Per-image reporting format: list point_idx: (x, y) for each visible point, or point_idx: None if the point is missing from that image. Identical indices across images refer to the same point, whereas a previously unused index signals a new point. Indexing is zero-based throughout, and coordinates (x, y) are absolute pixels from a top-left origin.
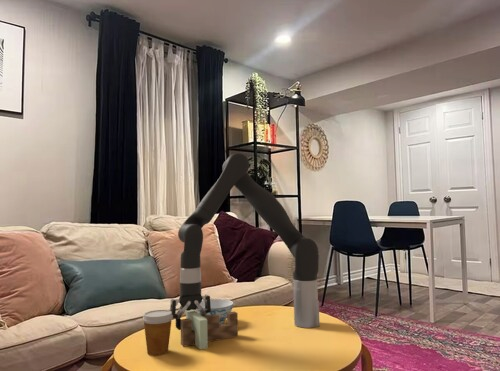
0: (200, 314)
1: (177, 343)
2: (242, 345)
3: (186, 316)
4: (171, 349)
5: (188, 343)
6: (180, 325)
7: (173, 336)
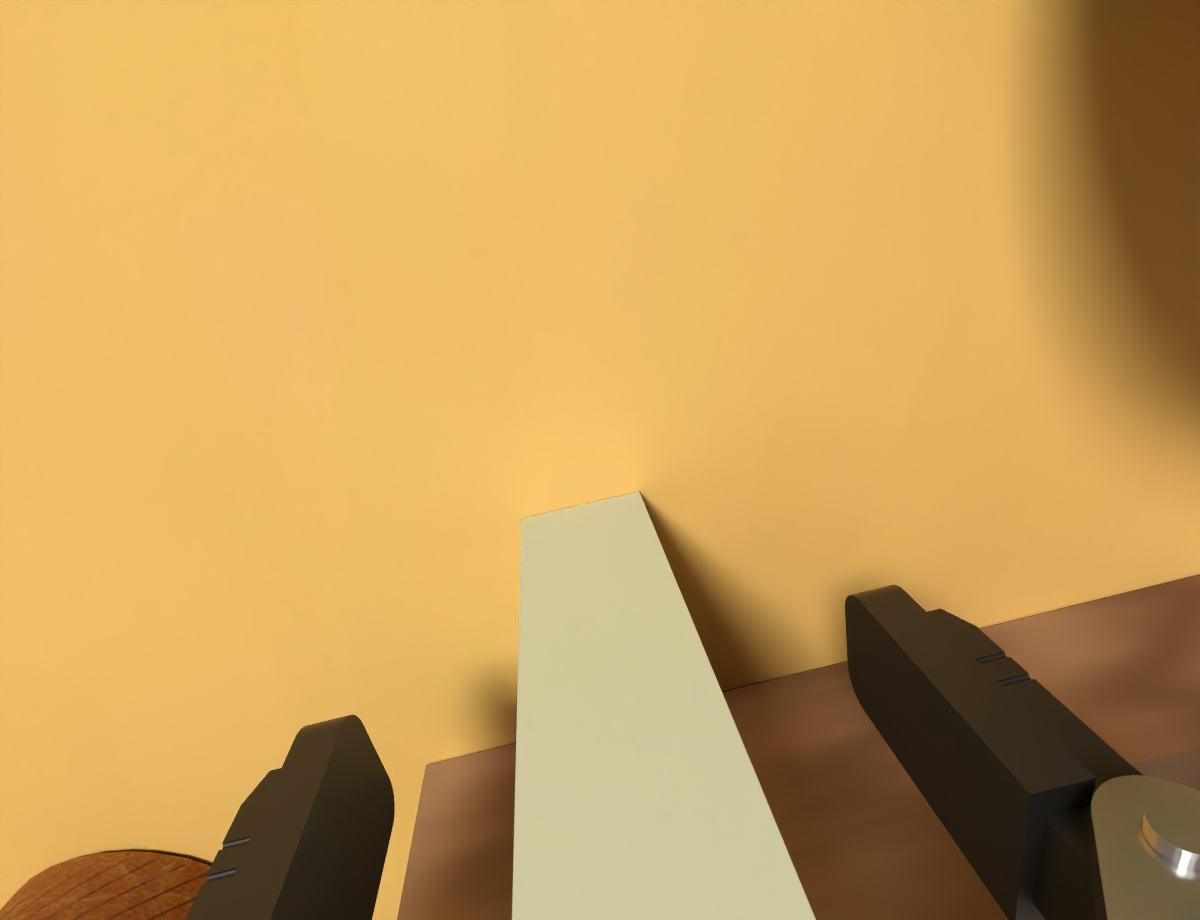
0: (1029, 811)
1: (379, 729)
2: None
3: (521, 901)
4: None
5: None
6: (363, 904)
7: (283, 407)
